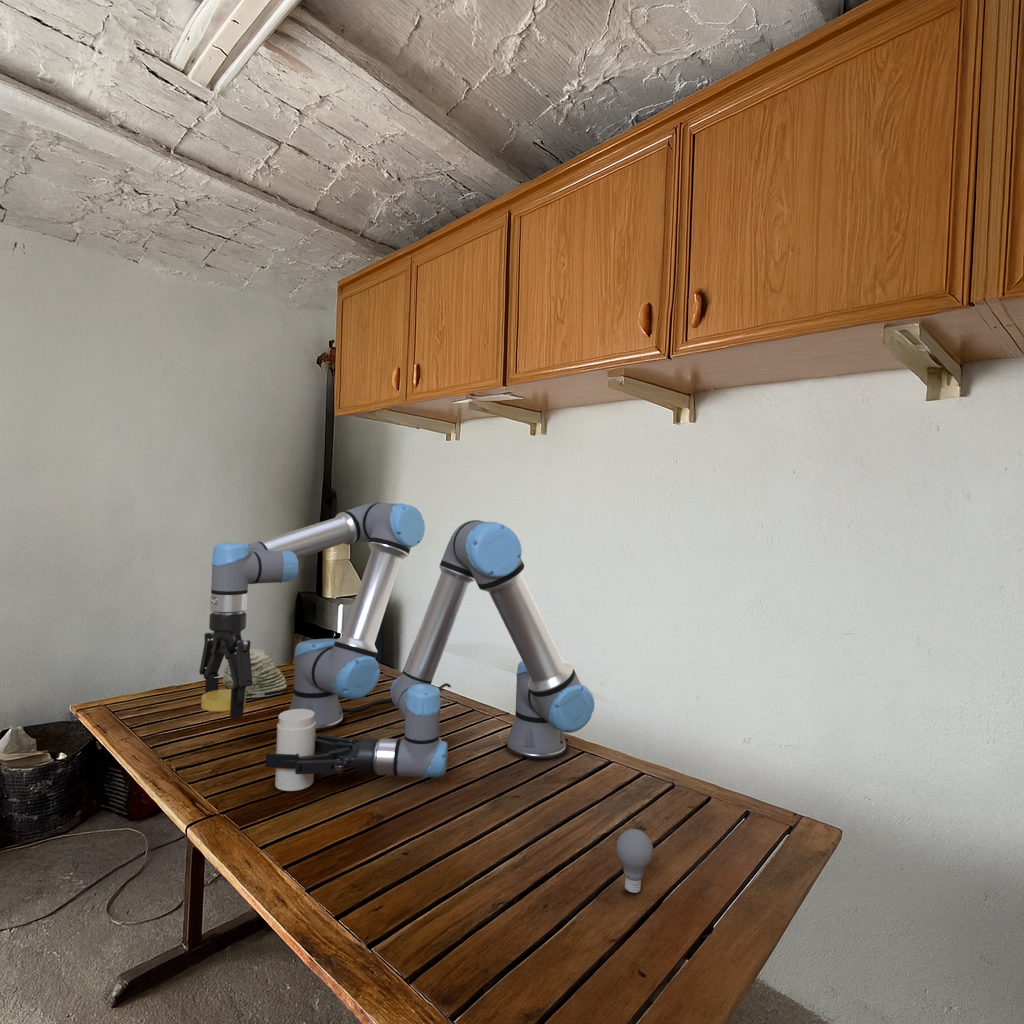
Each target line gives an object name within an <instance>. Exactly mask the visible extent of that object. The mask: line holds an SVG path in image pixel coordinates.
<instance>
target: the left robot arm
mask: <svg viewBox="0 0 1024 1024" xmlns="http://www.w3.org/2000/svg"><path fill="white" fill-rule="evenodd" d="M425 531H426V525H425V519H423V515H422V513H421V511H420V510H419V509H418V508H417V507H415V506H413V505H411V504H405V503H401V502H400V503H391V502H371V503H370V502H369V503H365V504H363V505H359V506H356V507H354V508H353V507H352V508H350V509H348V510H344V511H341V512H338V513H337V514H336V515H335V517H334V518H330V519H327V520H324V521H320V522H316V523H314V524H311V525H307V526H304V527H301V528H297V529H294V530H291V531H288V532H285V533H281V534H278V535H275V536H272V537H267V538H265V539H262V540H259V541H255V542H252V543H246V542H219V543H216V544H215V545H214V547H213V550H212V551H213V552H212V560H211V586H210V588H211V589H210V600H209V601H210V609H209V610H210V611H211V613H210V614H209V620H208V621H209V622H208V623H209V624H208V628H209V630H210V631H211V632H206V633H204V644H203V650H202V655H201V661H200V666H199V671H198V673H199V675H201V676H202V675H203V679H204V680H205V682H204V683H205V684H204V694H205V693H207V692H210V691H215V690H219V685H220V684H219V683H220V680H219V679H220V678H219V677H220V674H219V670H220V668H221V665H222V663H223V660H224V658H225V660H226V661H227V662H228V663H229V667H230V671H231V676H232V680H233V684H234V687H232V688H231V706H230V711H229V719H231V720H234V719H237V718H241V717H243V716H244V706H245V705H244V701H245V688H246V687H248V686H251V685H252V672H251V660H250V649H251V645H252V643H251V642H252V641H250V640H244V639H243V638H242V631H243V630H245V629H246V627H247V613H246V612H245V611H247V610H248V595H249V594H248V591H249V585H255V584H273V583H274V584H275V583H276V584H277V583H279V584H281V583H286V582H292V581H293V580H295V579H296V577H297V576H298V573H299V565H300V564H299V559H301V558H304V557H307V556H310V555H313V554H317V553H319V552H322V551H325V550H328V549H331V548H333V547H336V546H339V545H342V544H344V545H347V546H350V545H353V544H356V543H362V542H363V543H365V542H366V543H367V545H368V548H369V549H370V554H369V558H368V560H367V563H366V566H365V569H364V572H363V575H362V578H361V582H360V585H359V587H358V590H357V593H356V596H355V599H354V601H353V605H352V608H351V611H350V614H349V617H348V620H347V622H346V626H345V628H344V629H345V630H344V632H343V634H342V636H340V637H339V638H317V639H308V640H304V641H300V642H299V643H297V645H296V646H295V650H294V655H293V657H294V672H293V673H294V674H293V695H292V696H293V697H292V699H291V702H290V704H289V708H288V710H292V709H308V710H312V711H313V712H314V713H315V721H316V733H317V732H325V731H329V730H332V729H335V728H337V727H339V726H340V725H342V723H343V722H344V714H343V712H358V711H361V710H362V711H363V710H365V709H367V708H369V707H372V706H376V705H379V704H383V703H389V702H393V700H392V697H391V698H385V699H380V700H375V701H372V702H368V703H366V704H364V705H361V706H359V707H353V708H352V707H343V708H342V706H341V702H340V699H339V698H341V699H347V700H351V701H357V700H360V699H363V698H365V697H366V696H367V695H369V694H370V693H372V691H373V690H374V689H375V688H376V686H377V684H378V682H379V679H380V676H381V669H380V664H379V662H378V661H377V660H376V659H377V655H378V652H379V651H378V649H377V647H376V645H375V643H376V641H377V638H378V635H379V631H380V628H381V624H382V621H383V620H384V619H383V618H384V616H385V612H386V609H387V606H388V603H389V599H390V596H391V593H392V590H393V587H394V584H395V581H396V577H397V575H398V571H399V568H400V566H401V563H402V560H404V559H406V558H408V557H409V555H410V552H411V548H414V547H416V546H417V545H418V544H420V543H421V542H422V540H424V535H425ZM235 652H236V654H235ZM445 687H447V688H452V685H451V684H450V683H448V682H445V683H443V684H441V685H440V686H438V687H437V688H438V689H439V691H441V690H442V689H443V688H445Z"/></svg>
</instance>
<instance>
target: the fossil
mask: <svg viewBox="0 0 1024 1024" xmlns="http://www.w3.org/2000/svg"><path fill="white" fill-rule="evenodd" d="M235 654H236V652H235ZM250 660H251V672H252V685H251V686H248V687H246V688H245V693H246V699H250V698H264V697H271V696H275V695H281V694H284V693H285V691H286V689H287V687H288V686H287V680H286V678H285V676H284V674H283V673H282V672H281V669H279V668H278V667H277V665H276V663H275V662H274V660H273V659H272V658H271V657H270V656H269V655H268V654H267V653H266V652H265V650H264V649H263V648H260V647H258V648H250ZM222 676H223V677H222V685H223V687H224V689H231V688H232V687H234V684H233V680H232V676H231V671H230V667H229V663H228V661H227V663H226V666H225V668H224V671H223V675H222Z"/></svg>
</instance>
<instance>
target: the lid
mask: <svg viewBox="0 0 1024 1024" xmlns="http://www.w3.org/2000/svg"><path fill="white" fill-rule="evenodd" d="M246 700H247V698H246V693H245V701H244V706H245V705H246V704H247V703H246V702H247V701H246ZM200 701H201V703H200V707H201V709H202V710H205V711H209V712H227V711H228V712H230V706H231V689H226V688H223V689H218V690H215V691H210V692H207V693H205V692H204V693H203V694H202V695H201V700H200Z"/></svg>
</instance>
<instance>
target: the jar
mask: <svg viewBox="0 0 1024 1024" xmlns="http://www.w3.org/2000/svg"><path fill="white" fill-rule="evenodd" d="M316 733H317V732H316V721H315V713H314V712H313V711H312V710H308V709H292V710H289V709H287V710H284V711H282V712H280V713H279V714H278V722H277V724H276V743H275V745H276V746H275V754H293V755H296V754H299V757H302V756H310V755H316V752H315V738H316V736H317V734H316ZM274 769H275V770H274V787H275V788H276V789H278V790H280V791H285V792H295V791H301V790H304V789H307V788H309V787H310V786H312V785H313V784H314V782H315V774H295V769H292V768H274Z"/></svg>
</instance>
